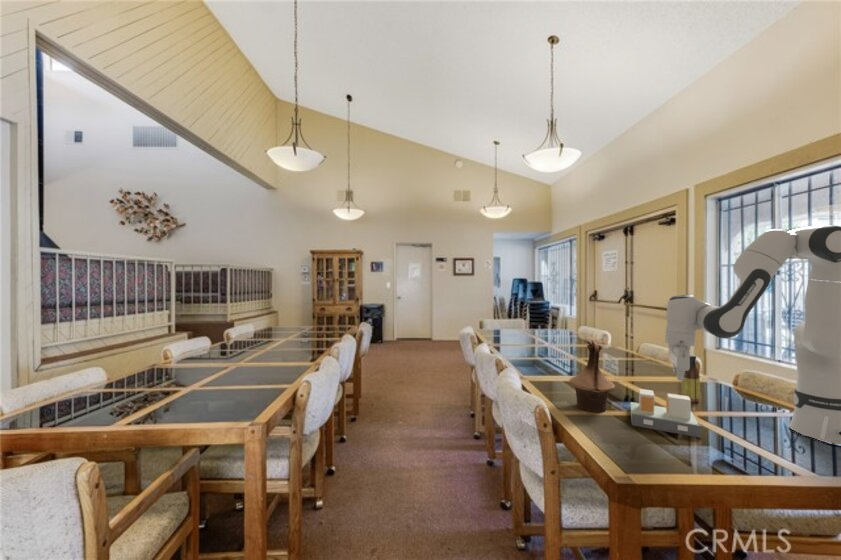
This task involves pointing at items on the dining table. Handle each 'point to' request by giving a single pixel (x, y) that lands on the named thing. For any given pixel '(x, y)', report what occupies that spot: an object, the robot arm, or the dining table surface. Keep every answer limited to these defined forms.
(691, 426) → the shelf
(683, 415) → the turned carton
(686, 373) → the sauce bottle
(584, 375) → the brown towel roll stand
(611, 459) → the dining table surface
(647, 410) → the faced carton
